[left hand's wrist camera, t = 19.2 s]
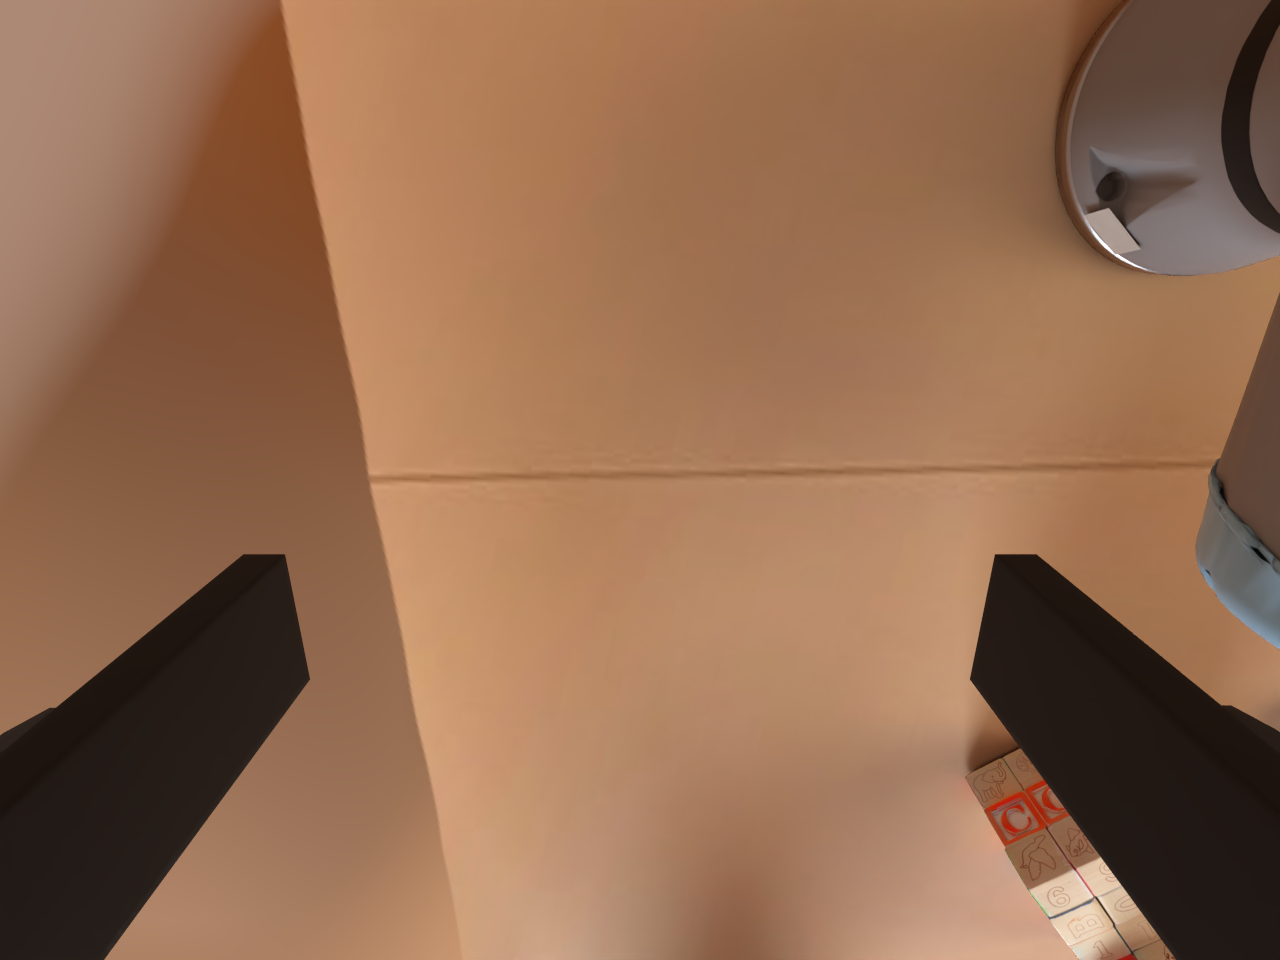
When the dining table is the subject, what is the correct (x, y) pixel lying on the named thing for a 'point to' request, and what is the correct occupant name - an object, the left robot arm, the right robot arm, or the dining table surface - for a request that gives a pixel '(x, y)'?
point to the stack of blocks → (1062, 865)
